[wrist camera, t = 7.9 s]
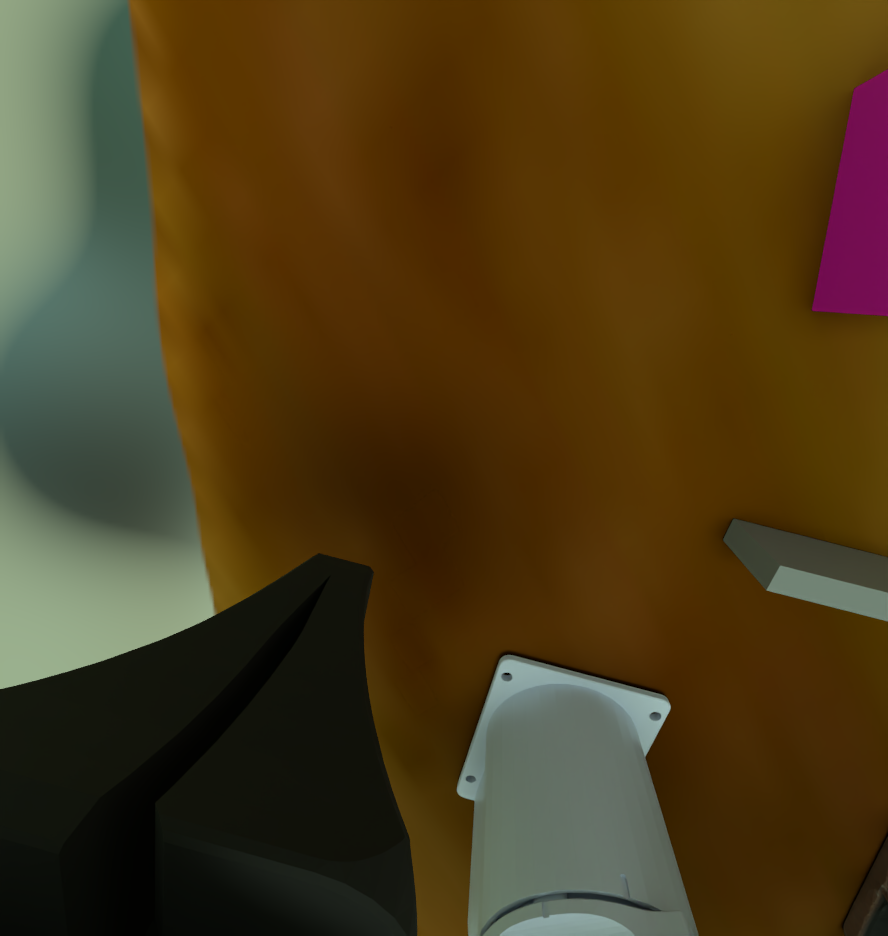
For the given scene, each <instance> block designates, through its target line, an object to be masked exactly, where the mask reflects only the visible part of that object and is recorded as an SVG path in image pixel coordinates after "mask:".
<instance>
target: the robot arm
mask: <svg viewBox="0 0 888 936" xmlns="http://www.w3.org/2000/svg"><path fill="white" fill-rule="evenodd" d="M373 573H374V572H373V570H372V569H371V567H369V566H366V565H362V564H358V563H354V562H350V561H346V560H342V559H339V558H335V557H331V556H327V555H323V554H317V555H315V556H313V557H312V558H310V559H309V560H307V561H306V562H304V563H302V564H301V565H299V566H298V567H296V568H295V569H293V570H292V571H290V572H289V573H287V574H286V575H284V576H282V577H281V578H279V579H278V580H276V581H275V582H273V583H271V584H270V585H268V586H266V587H265V588H263V589H261V590H260V591H258V592H256V593H255V594H253V595H251V596H250V597H248V598H246V599H244V600H243V601H241V602H239V603H237V604H235V605H233V606H232V607H230V608H228V609H226V610H224V611H222V612H220V613H219V614H217V615H215V616H213V617H211V618H209V619H207V620H205V621H203V622H201V623H199V624H196V625H194V626H192V627H190V628H188V629H185V630H183V631H181V632H178V633H176V634H174V635H172V636H169V637H167V638H164V639H162V640H160V641H157V642H154V643H151V644H149V645H146V646H143V647H140V648H138V649H135V650H132V651H129V652H127V653H124V654H121V655H118V656H115V657H113V658H110V659H107V660H104V661H101V662H98V663H95V664H92V665H88V666H85V667H82V668H78V669H75V670H72V671H69V672H65V673H61V674H58V675H54V676H51V677H47V678H44V679H40V680H37V681H32V682H28V683H25V684H21V685H17V686H13V687H8V688H4V689H0V936H417V910H416V895H415V885H414V875H413V866H412V858H411V849H410V839H409V835H408V833H407V830H406V827H405V825H404V822H403V819H402V817H401V814H400V811H399V808H398V805H397V803H396V800H395V797H394V794H393V791H392V788H391V785H390V781H389V778H388V775H387V771H386V768H385V765H384V762H383V758H382V754H381V749H380V745H379V741H378V737H377V733H376V729H375V725H374V721H373V716H372V710H371V705H370V699H369V693H368V686H367V678H366V669H365V657H364V618H365V613H366V608H367V603H368V598H369V593H370V588H371V583H372V578H373ZM503 673H510V675H504V674H503ZM670 708H671V706H670V703H669V701H668V699H667V698H666V696H664V695H662V694H658V693H654V692H650V691H646V690H643V689H639V688H635V687H631V686H628V685H624V684H620V683H616V682H612V681H609V680H605V679H601V678H597V677H593V676H590V675H586V674H582V673H578V672H574V671H571V670H567V669H563V668H559V667H555V666H552V665H548V664H544V663H540V662H536V661H533V660H529V659H525V658H521V657H517V656H514V655H505V656H503V657H501V659H500V660H499V663H498V666H497V669H496V671H495V674H494V677H493V680H492V683H491V686H490V689H489V692H488V695H487V698H486V701H485V704H484V707H483V710H482V713H481V716H480V719H479V721H478V724H477V727H476V730H475V733H474V736H473V739H472V742H471V745H470V748H469V751H468V754H467V757H466V760H465V763H464V766H463V769H462V771H461V774H460V777H459V780H458V783H457V792H458V794H459V795H460V796H461V797H464V798H467V799H471V800H474V801H475V805H474V822H473V839H472V857H471V874H470V891H469V909H468V936H699V935H698V932H697V929H696V925H695V922H694V919H693V915H692V912H691V909H690V905H689V902H688V899H687V895H686V892H685V889H684V885H683V882H682V879H681V875H680V872H679V869H678V865H677V862H676V859H675V855H674V852H673V849H672V845H671V842H670V839H669V835H668V832H667V829H666V825H665V822H664V819H663V815H662V812H661V809H660V805H659V802H658V799H657V795H656V792H655V789H654V785H653V782H652V779H651V775H650V772H649V769H648V765H647V762H646V759H645V756H646V754H647V753H648V751H649V749H650V747H651V745H652V743H653V741H654V739H655V738H656V736H657V734H658V732H659V730H660V728H661V726H662V724H663V723H664V721H665V719H666V717H667V715H668V713H669V711H670ZM653 712H657V713H655V714H651V713H653Z"/></svg>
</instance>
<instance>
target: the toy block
mask: <svg viewBox="0 0 888 936" xmlns="http://www.w3.org/2000/svg"><path fill="white" fill-rule="evenodd" d="M812 311H822V312H837V313H852V314H866V315H881V316H888V69H887V70H886V71H884V72H882V73H880V74H879V75H877V76H875V77H873V78H872V79H870V80H868V81H867V82H865V83H863V84H861V85H860V86H858V87H856V88H854V93H853V98H852V103H851V108H850V113H849V119H848V124H847V129H846V134H845V140H844V145H843V150H842V155H841V161H840V166H839V171H838V176H837V182H836V187H835V192H834V197H833V203H832V208H831V213H830V218H829V223H828V229H827V234H826V239H825V244H824V250H823V255H822V260H821V265H820V271H819V276H818V281H817V286H816V292H815V297H814V302H813V307H812Z"/></svg>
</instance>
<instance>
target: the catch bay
mask: <svg viewBox="0 0 888 936" xmlns="http://www.w3.org/2000/svg"><path fill="white" fill-rule="evenodd" d="M723 541H724V542H725V543H726V544H727V546H728V547H729V548H730V549H731V550H732V551H733V552H734V554H735V555H736V556H737V557H738V558H739V559H740V561H741V562H742V563H743V564H744V565H745V566H746V567H747V569H748V570H749V571H750V572H751V573H752V574H753V575H754V577H755V578H756V579H757V580H758V581H759V582H760V584H761V585H762V586H763V587H764V588H765V589H766V590H767V591H771V592H775V593H779V594H783V595H787V596H791V597H795V598H799V599H802V600H806V601H810V602H814V603H818V604H822V605H826V606H830V607H834V608H838V609H842V610H846V611H849V612H853V613H857V614H861V615H865V616H869V617H873V618H877V619H881V620H885V621H888V557H885V556H881V555H877V554H873V553H869V552H865V551H861V550H857V549H853V548H849V547H845V546H841V545H837V544H833V543H829V542H825V541H821V540H817V539H813V538H809V537H805V536H801V535H797V534H793V533H789V532H785V531H781V530H777V529H773V528H769V527H765V526H761V525H757V524H753V523H749V522H745V521H742V520H738V519H734V518H733V520H732V522H731V524H730V526H729V528H728V530H727V532H726V534H725V536H724V538H723Z"/></svg>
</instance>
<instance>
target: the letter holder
mask: <svg viewBox="0 0 888 936" xmlns="http://www.w3.org/2000/svg"><path fill="white" fill-rule="evenodd" d="M843 928H844V934H845V936H888V837H887V838H886V840H885V842H884V844H883V846H882V848H881V850H880V852H879V854H878V856H877V858H876V860H875V862H874V864H873V866H872V868H871V870H870V872H869V874H868V876H867V878H866V880H865V882H864V884H863V886H862V887H861V889H860V892H859V894H858V896H857V898H856V900H855V901H854V903H853V906H852V908H851V910H850V912H849V914H848V916H847V918H846V920H845V922H844V925H843Z"/></svg>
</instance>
